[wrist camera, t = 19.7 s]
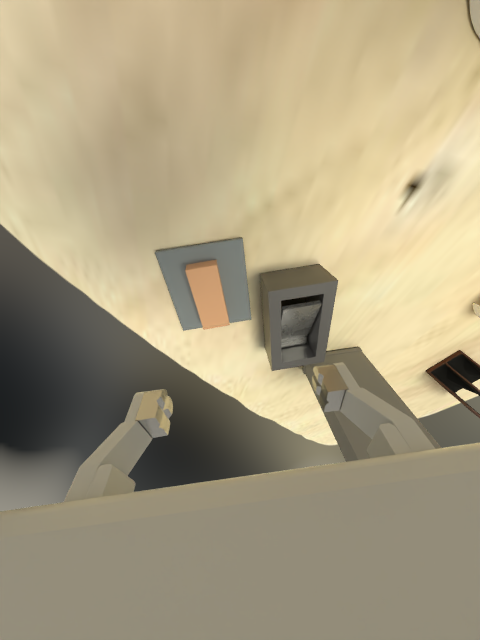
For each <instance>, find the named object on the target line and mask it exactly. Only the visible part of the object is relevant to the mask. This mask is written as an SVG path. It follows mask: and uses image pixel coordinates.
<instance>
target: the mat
mask: <svg viewBox="0 0 480 640" xmlns="http://www.w3.org/2000/svg"><path fill="white" fill-rule="evenodd" d="M155 254H156V257H157V259H158V262H159V265H160V268H161V270H162V273H163V276H164V279H165V281H166V284H167V287H168V290H169V292H170V295H171V298H172V301H173V304H174V306H175V309H176V312H177V315H178V317H179V320H180V323H181V326H182V328H183V331H184V330H190V329H196V328H202V327H203V326H202V323H201V320H200V316H199V313H198V310H197V307H196V304H195V300H194V297H193V294H192V291H191V287H190V284H189V281H188V278H187V275H186V271H185V269H186V265H187V264H193V263H199V262H204V261H210V260H217V264H218V269H219V274H220V279H221V283H222V288H223V293H224V298H225V302H226V307H227V312H228V317H229V323H233V322H239V321H245V320H251V311H250V302H249V293H248V284H247V274H246V265H245V256H244V247H243V239H242V238H236V239H229V240H223V241H217V242H210V243H204V244H198V245H191V246H185V247H178V248H172V249H166V250H159V251H156V252H155Z"/></svg>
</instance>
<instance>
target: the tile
mask: <svg viewBox="0 0 480 640" xmlns="http://www.w3.org/2000/svg"><path fill="white" fill-rule="evenodd" d="M185 271H186V275H187V278H188V281H189V284H190V287H191V291H192V294H193V297H194V300H195V304H196V307H197V310H198V313H199V316H200V320H201V323H202V326H203V329H210V328H215V327H221V326H227V325H230V324H229V317H228V312H227V307H226V302H225V298H224V293H223V288H222V283H221V279H220V274H219V269H218V264H217V260H210V261H204V262H199V263H193V264H187V265H186V269H185Z"/></svg>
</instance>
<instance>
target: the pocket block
mask: <svg viewBox="0 0 480 640" xmlns="http://www.w3.org/2000/svg"><path fill="white" fill-rule="evenodd" d="M260 283H261V297H262V312H263V326H264V341H265V349H266V353H267V356H268V359H269V363H270V366H271V369H272V371H274V370H280V369H286V368H292V367H298V366H304V365H310V364H316V363H322V362H324V360H325V354H326V348H327V343H328V337H329V331H330V325H331V319H332V313H333V307H334V302H335V296H336V290H337V284H338V280H337V279H336V278H335V277H334V276H332V275H331V274H330V273H329V272H328V271H327V270H326V269H324V268H323V267H322V266H321V265H320V264H316V265H310V266H304V267H298V268H291V269H285V270H279V271H273V272H266V273H260ZM301 297H306V302H312V301H318V300H320V302H321V306H320V309H319V311H318V313H317V315H316V318H315V320H314V322H313V324H312V327H311V329H310V331H309V334H308V336H307V338H305V339H307V342H308V343H307V344H302V345H296V346H290V347H284V348H281V343H282V342H281V301H283V300H289V299H295V298H301ZM299 340H300V339H299ZM293 341H294V340H293ZM287 342H288V341H287Z"/></svg>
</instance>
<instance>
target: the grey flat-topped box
mask: <svg viewBox="0 0 480 640" xmlns="http://www.w3.org/2000/svg"><path fill="white" fill-rule="evenodd" d="M341 362H343V363H344V364H345V365H346V367H347V368H348V370H349V371H350V373H351V375H352V376H353V378H354V379H355V381H356V382H357V384H358V386H359V387H360V388H364V389H366V390H368V391H369V392H371V393H372V394H374V395H376V396H377V397H379V398H380V399H382V400H383V401H385V402H387V403H388V404H390V405H391V406H393V407H395V408H396V409H398V410H399V411H401V412H403V413H404V414H406V415H407V416H409V417H411V418H412V419H413V420H414V421H415V422H416V424H417V425H418V426H419V428H420V429H421V430H422V432H423V433H424V434H425V436H426V437H427V438H428V440H429V441H430V442H431V443H432V445H433V446H434V447H435V449H439V448H441V447H440V446H439V444H437V442H436V441H435V440H434V438H433V437H432V436H431V435H430V434H429V433H428V431H427V430H426V429H425V428H424V426H423V425H422V424H421V423H420V421H419V420H418V419H417V418H416V417H415V415H414V414H413V413H412V412H411V411H410V409H409V408H408V407H407V406H406V404H405V403H404V402H403V401H402V400H401V398H400V397H399V396H398V395H397V394H396V392H395V391H394V390H393V389H392V387H391V386H390V385H389V384H388V383H387V381H386V380H385V379H384V378H383V377H382V375H381V374H380V373H379V372H378V371H377V369H376V368H375V367H374V366H373V364H372V363H371V362H370V361H369V360H368V358H367V357H366V356H365V355H364V354H363V352H362V350H361V349H360V347H355V348H350V349H343V350H336V351H329V352H326V354H325V360H324V362H322V363H316V364H310V365H304V366H303V373H304V374H306V376H307V378H308V380H309V382H310V384H311V387H312V389H313V391H314V393H315V390H314V387H313V383H312V376H313V375H314V372H313V368H314V367H315V366H320V365H326V364H334V363H341ZM315 395H316V398H317V400H318V402H319V397H320V396H319V395H317V394H316V393H315ZM319 404H320V402H319ZM320 406H321V404H320ZM321 408H322V407H321ZM322 411H323V409H322ZM323 413H324V415H325V417H326V419H327V421H328V424H329V426H330V428H331V430H332V432H333V434H334V437H335V439H336V441H337V443H338V445H339V447H340V450H341V452H342V454H343V456H344V458H345V460H346V462H348V461H355V460H362V459H369V458H370V456H369V454H368V452H367V448H368V446H369V444H370V442H371V441H372V439H371V438H370V437H369V436H368V435H366V434H365V433H364V432H363V431H362V430H361V429H360V428H359V427H357V426H356V425H355V424H354V423H353V422H352V421H351V420H349V419H348V418H347V417H346V416H345V415H344V414H343V413H342V412H340V410H339V411H331V412H324V411H323Z"/></svg>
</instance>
